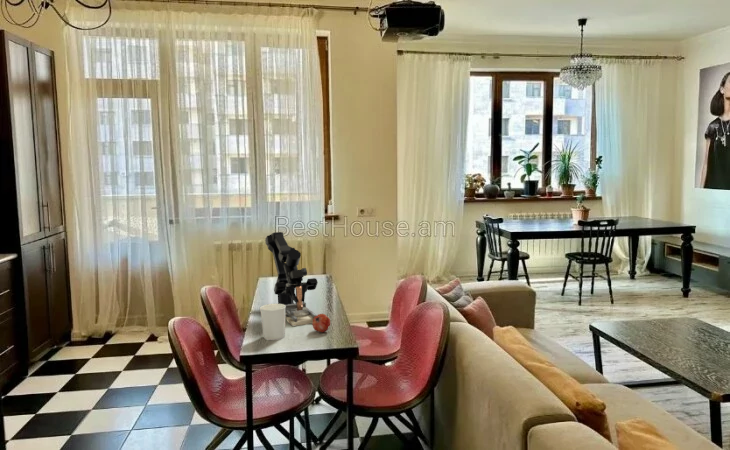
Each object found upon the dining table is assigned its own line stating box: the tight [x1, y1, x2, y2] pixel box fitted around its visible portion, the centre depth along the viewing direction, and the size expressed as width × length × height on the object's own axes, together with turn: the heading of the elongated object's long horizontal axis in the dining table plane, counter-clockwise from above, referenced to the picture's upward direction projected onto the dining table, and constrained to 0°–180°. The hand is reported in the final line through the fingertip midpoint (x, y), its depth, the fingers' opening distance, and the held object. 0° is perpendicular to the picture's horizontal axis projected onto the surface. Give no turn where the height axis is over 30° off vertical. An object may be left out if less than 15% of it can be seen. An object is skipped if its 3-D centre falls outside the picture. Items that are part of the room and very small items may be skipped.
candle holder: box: [259, 303, 286, 341], centre depth 198 cm, size 10×10×12 cm
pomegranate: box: [311, 313, 331, 333], centre depth 203 cm, size 7×7×10 cm
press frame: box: [285, 301, 318, 327], centre depth 222 cm, size 18×12×4 cm, turn 24°
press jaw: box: [291, 286, 310, 317], centre depth 221 cm, size 4×7×13 cm, turn 114°
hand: (300, 302), depth 220 cm, fingers closed on press jaw, 3 cm apart
